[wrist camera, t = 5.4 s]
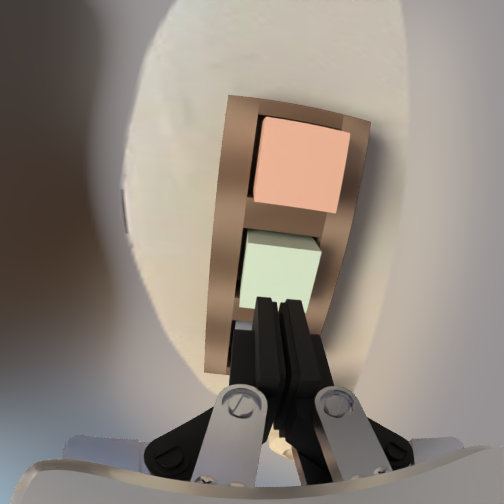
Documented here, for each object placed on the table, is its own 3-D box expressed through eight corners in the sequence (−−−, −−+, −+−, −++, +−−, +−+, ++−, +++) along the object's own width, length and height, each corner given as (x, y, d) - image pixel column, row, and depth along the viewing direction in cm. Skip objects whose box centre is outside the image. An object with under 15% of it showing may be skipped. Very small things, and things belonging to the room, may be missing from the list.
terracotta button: (262, 121, 19) (266, 116, 14) (329, 133, 19) (350, 133, 15) (253, 188, 20) (254, 201, 16) (318, 198, 21) (335, 213, 17)
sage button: (247, 223, 23) (247, 242, 18) (308, 230, 23) (321, 251, 19) (240, 278, 25) (239, 307, 20) (297, 284, 25) (305, 313, 21)
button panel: (231, 102, 20) (228, 95, 16) (351, 123, 21) (370, 122, 17) (208, 346, 29) (204, 372, 26) (298, 353, 30) (304, 379, 26)
